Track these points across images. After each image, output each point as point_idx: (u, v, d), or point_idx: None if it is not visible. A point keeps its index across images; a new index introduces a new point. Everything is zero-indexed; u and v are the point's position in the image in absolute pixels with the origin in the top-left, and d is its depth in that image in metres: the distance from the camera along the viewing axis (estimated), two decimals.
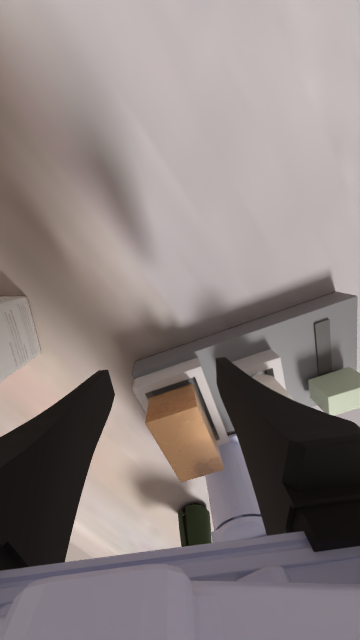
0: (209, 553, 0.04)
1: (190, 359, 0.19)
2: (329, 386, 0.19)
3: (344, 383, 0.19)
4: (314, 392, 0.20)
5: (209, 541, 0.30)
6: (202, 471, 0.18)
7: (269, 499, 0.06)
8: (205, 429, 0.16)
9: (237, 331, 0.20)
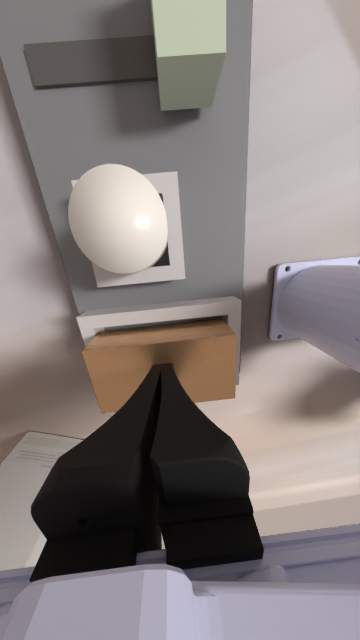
0: None
1: None
2: (155, 48, 0.08)
3: None
4: (182, 95, 0.09)
5: None
6: (225, 366, 0.11)
7: None
8: (131, 348, 0.10)
9: None
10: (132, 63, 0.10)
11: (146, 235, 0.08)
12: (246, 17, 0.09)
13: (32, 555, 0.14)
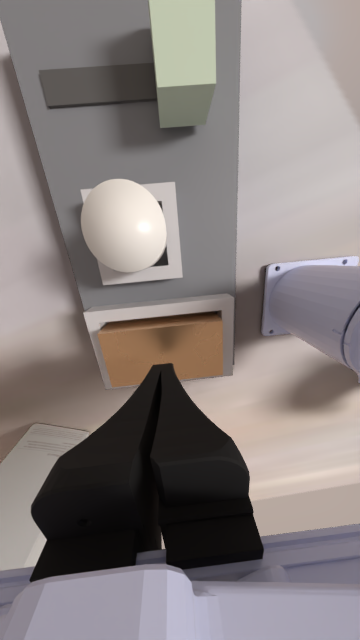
0: None
1: None
2: None
3: (151, 31, 0.09)
4: (179, 116, 0.10)
5: None
6: (214, 347, 0.14)
7: None
8: (137, 331, 0.13)
9: None
10: (135, 86, 0.11)
11: (148, 239, 0.09)
12: (235, 47, 0.11)
13: (42, 533, 0.15)
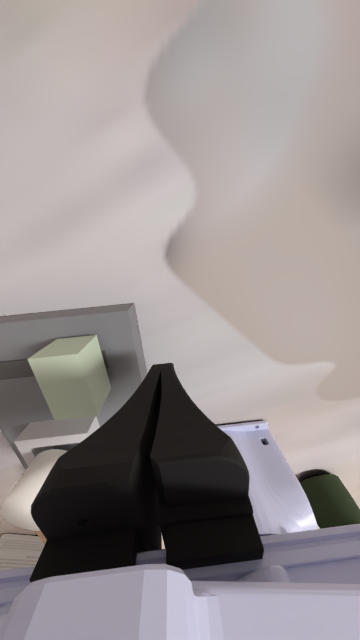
0: None
1: None
2: None
3: None
4: None
5: (344, 516, 0.20)
6: None
7: None
8: None
9: None
10: None
11: None
12: (129, 341, 0.14)
13: None
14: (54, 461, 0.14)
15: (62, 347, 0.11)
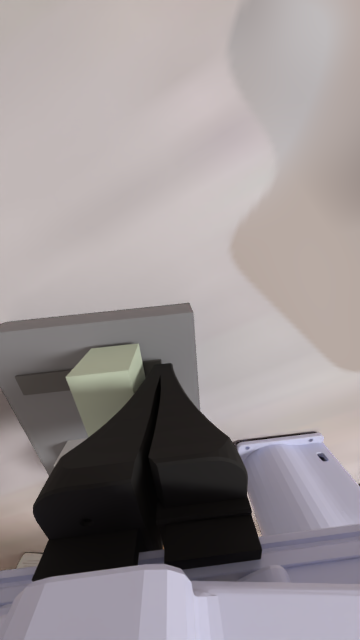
0: None
1: None
2: None
3: None
4: None
5: None
6: None
7: None
8: None
9: None
10: None
11: None
12: (191, 348, 0.12)
13: None
14: None
15: (103, 360, 0.09)
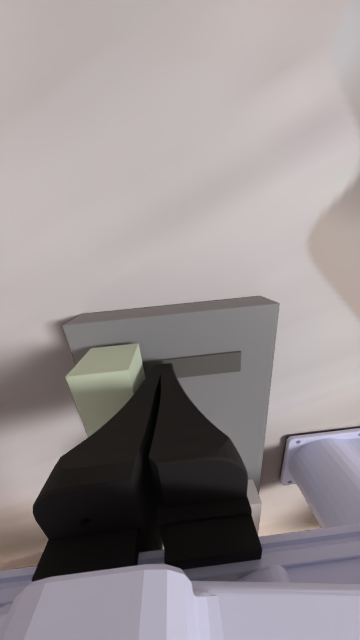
0: None
1: None
2: None
3: None
4: None
5: None
6: None
7: None
8: None
9: None
10: (180, 370, 0.12)
11: None
12: (271, 340, 0.12)
13: None
14: None
15: (103, 359, 0.09)
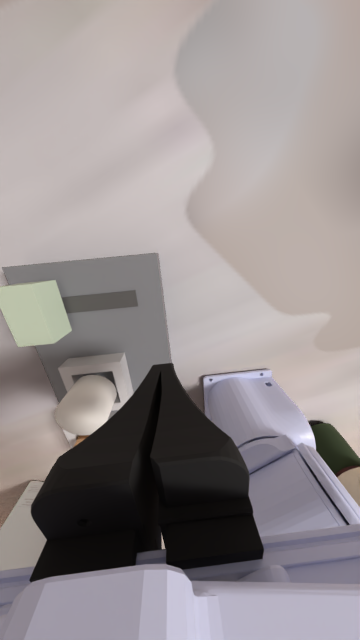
0: None
1: None
2: None
3: None
4: None
5: (338, 452, 0.23)
6: None
7: None
8: None
9: None
10: (92, 304, 0.17)
11: (96, 420, 0.15)
12: (156, 281, 0.17)
13: None
14: (94, 381, 0.16)
15: None
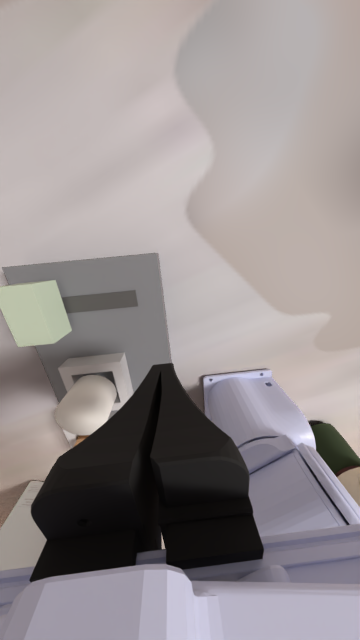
0: None
1: None
2: None
3: None
4: None
5: (338, 452, 0.23)
6: None
7: None
8: None
9: None
10: (92, 304, 0.17)
11: (96, 420, 0.15)
12: (156, 281, 0.17)
13: None
14: (94, 381, 0.16)
15: None
